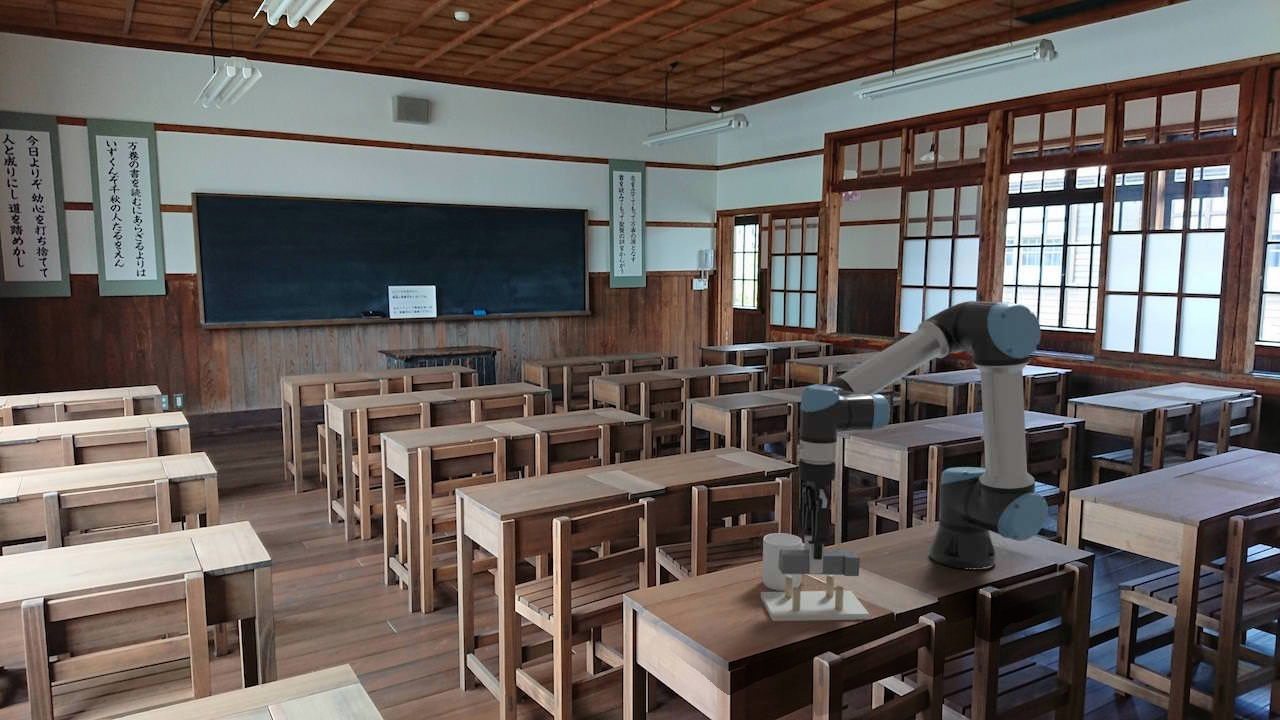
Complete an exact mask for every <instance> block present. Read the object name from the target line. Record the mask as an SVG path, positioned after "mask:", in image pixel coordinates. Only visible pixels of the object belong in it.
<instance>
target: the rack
mask: <svg viewBox="0 0 1280 720" xmlns="http://www.w3.org/2000/svg"><path fill="white" fill-rule="evenodd" d="M825 580H826V581H825V583H826V584H825V590H807V591H806V590H805V591H801V587H800V586H799V587H794V588H793V576H791V575H786V576H785V591H761V592H760V599H761V601H762V603H763V605H764V607H765V609H766V611H767V613H768V614H769V617H770V620H771V621H772V622H793V621H794V622H796V621H797V622H799V621H803V622H804V621H805V622H807V621H846V620H847V621H848V620H849V621H850V620H851V621H855V620H856V621H857V619H858V620H869V619H870V613H869V612H868V610H867V609H866V608H865V606H864V605H863V604H862V602H860V600H859V598H857V597H856V595H855V594H854V593H853V591H852V590H844V587H843V586H835V575H828V574H826V579H825ZM834 588H835V590H834Z"/></svg>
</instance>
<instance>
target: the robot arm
mask: <svg viewBox="0 0 1280 720" xmlns="http://www.w3.org/2000/svg"><path fill="white" fill-rule="evenodd" d="M1041 331H1042V330H1041V325H1040V322H1039V320H1038V317H1037V316H1036V315H1035V313H1034V312H1033V311H1031V310H1030V308H1028V307H1027V306H1025V305H1023V304H1020V303H1013V302H1008V301H978V300H969V301H965V302H959V303H957V304H954V305H952V306H950V307H948V308H946V309H943V310H941V311H940V312H938V313H936V314H934V315H932V316H930V317H928V318H927V319H925V320H924V321H922V322H921V323H919V324H918V327H917V330H915V331H913V332H911V333H910V334H909V335H907V336H905V337H903V338H901V339H899V340H898V341H897V342H895V343H893V344H892V345H890V346H888V347H886V348H885V349H884V350H882V351H880V352H878V353H877V354H875V355H873V356H871V357H870V358H869V359H866V360H864V361H863V362H861V363H860V364H859V365H856V366H855V367H853V368H851V369H849V370H848V371H846V372H844V373H843V374H841V375H840V376H838V377H836V378H834V379H833V380H831V381H829V382H828V383H826V384H824V383H816V384H811V385H807V386H805V387H804V388H803V389H802V392H801V398H800V407H799V408H800V409H799V410H800V422H799V423H800V424H799V425H800V426H799V427H800V428H799V434H800V435H799V444H797V445H796V446H797V449H798V450H799V454H798V455H799V458H800V459H799V461H798V477H799V479H801V480H802V481H805V482H802V484H801V489H802V490H801V491H802V509H801V510H802V511H801V514H802V515H801V528H802V529H803V534H804V543H803V544H804V550H810V555H809V573H810V574H809V575H824V574H823V551H824V550H825V549H824V548H825V547H824V546H825V545H826V544H828V541H829V540H828V539H829V524H830V523H829V522H830V509H831V504H832V499H831V498H829V489H827V483H829V482H832V481H835V480H836V469H837V468H836V465H837V464H836V462H835V461H836V460H837V454H838V453H837V447H838V432H847V431H873V430H878V429H880V430H881V429H883V428H885V427H886V426H887V425H888V423H889V421H890V420H891V419H890V418H891V405H890V404H889V401H888V400H887V398H886V397H885V396H883V395H882V394H880V393H879V394H878V392H880V391H882V390H883V389H885V388H886V387H888V386H890V385H891V384H893V383H895V382H897V381H898V380H900V379H902V378H904V377H905V376H906V375H908V374H909V373H910V374H911V372H914V371H915V370H917V369H919V368H920V367H921V366H923V365H925V364H926V363H928V362H930V361H931V360H933V359H934V358H938V359H943V358H946V356H948V355H950V354H953V353H957V352H963V351H964V352H965V351H968V352H972V353H971V355H972V365H974V367H975V368H977V369H978V370H979V371H980V386H981V401H982V402H981V403H982V423H983V426H982V427H983V444H984V461H985V463H984V464H985V465H984V466H985V467H984V468H983V467H972V466H959V467H958V466H957V467H949V468H946V469H945V470H943V471H942V473H941V477H940V483H939V507H938V508H939V509H938V510H939V511H938V513H939V514H938V515H939V516H938V518H939V519H938V527H937V530H936V533H935V534H934V537H933V539H932V541H931V544H930V548H929V550H930V551H929V556H930V558H931V559H932V560H933V561H934V562H936V561H937V562H936V563H938V562H939V563H938V564H940V563H941V565H943V564H944V566H946V565H947V567H950V566H951V568H954V567H956V568H955V569H959V568H968V569H969V568H972V569H973V568H983V567H988V566H991V565H993V564H994V563H995V564H996V559H997V558H996V557H997V554H996V551H995V548H994V544H993V541H992V537H991V534H990V532H993V533H995V534H997V535H1000V536H1001V537H1003V538H1005V539H1010V540H1012V541H1013V540H1014V541H1017V542H1021V541H1022V542H1023V541H1028V540H1029V539H1032V538H1034V537H1035V536H1036V535H1037V534H1038V533H1039V532H1040V531H1041V529H1042V528H1043V527H1044V525H1045V523H1046V521H1047V518H1048V515H1049V514H1048V513H1049V506H1048V503H1047V500H1046V499H1045V498H1044V497H1043V496H1042V494H1039V493H1038V492H1036V481H1035V477H1034V476H1032V475H1031V474H1030V473H1029V472H1028V468H1027V448H1026V447H1027V446H1026V445H1027V442H1026V422H1025V403H1024V402H1025V400H1024V399H1025V397H1024V377H1023V369H1024V368H1025V367H1026V366H1027V365H1028V364H1029V363H1030V356H1031V355H1032V354H1033V353H1035V352H1036V350H1037V348H1038V347H1037V346H1038V345H1039V344H1040V342H1041V335H1042V334H1041V333H1042V332H1041ZM824 544H825V545H824Z"/></svg>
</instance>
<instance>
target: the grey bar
mask: <svg viewBox="0 0 1280 720" xmlns="http://www.w3.org/2000/svg"><path fill="white" fill-rule="evenodd" d="M809 555H810V550H779V565H778V568H779V570H780V571H781V573H782V574H803V575H811V574H810V573H809ZM860 561H861V558H860V556H859V555H858V554H857V553H856V552H855V550H853V549H847V548H846V549H838V550H836V549H835V550H834V549H833V550H831V549H830V550H829V549H826V550H825V549H824V551H823V574H822V575H834V576H835V575H836V576H837V575H840V576H841V575H842V576H844V577H859V575H860V563H861V562H860Z"/></svg>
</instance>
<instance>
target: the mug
mask: <svg viewBox="0 0 1280 720" xmlns="http://www.w3.org/2000/svg"><path fill="white" fill-rule="evenodd" d="M762 542H763V543H762V546H763V547H762V551H763V552H762V584H763V585H764V586H765V587H767V588H768V589H770V590H773V591H776V592H785V576H786V575H791V576H793V588H794V587H799V588H800V586H801V581H802V578H801V577H802V576H803V575H804V574H782V573H781V571H780V570H779V568H778V565H779V550H804V543H803V540H802V538H801V537H799V536H797V535H794V534H791V533H783V532H782V533H781V532H779V533H778V532H775V533H769V534H766V535H764V536H763V539H762Z"/></svg>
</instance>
